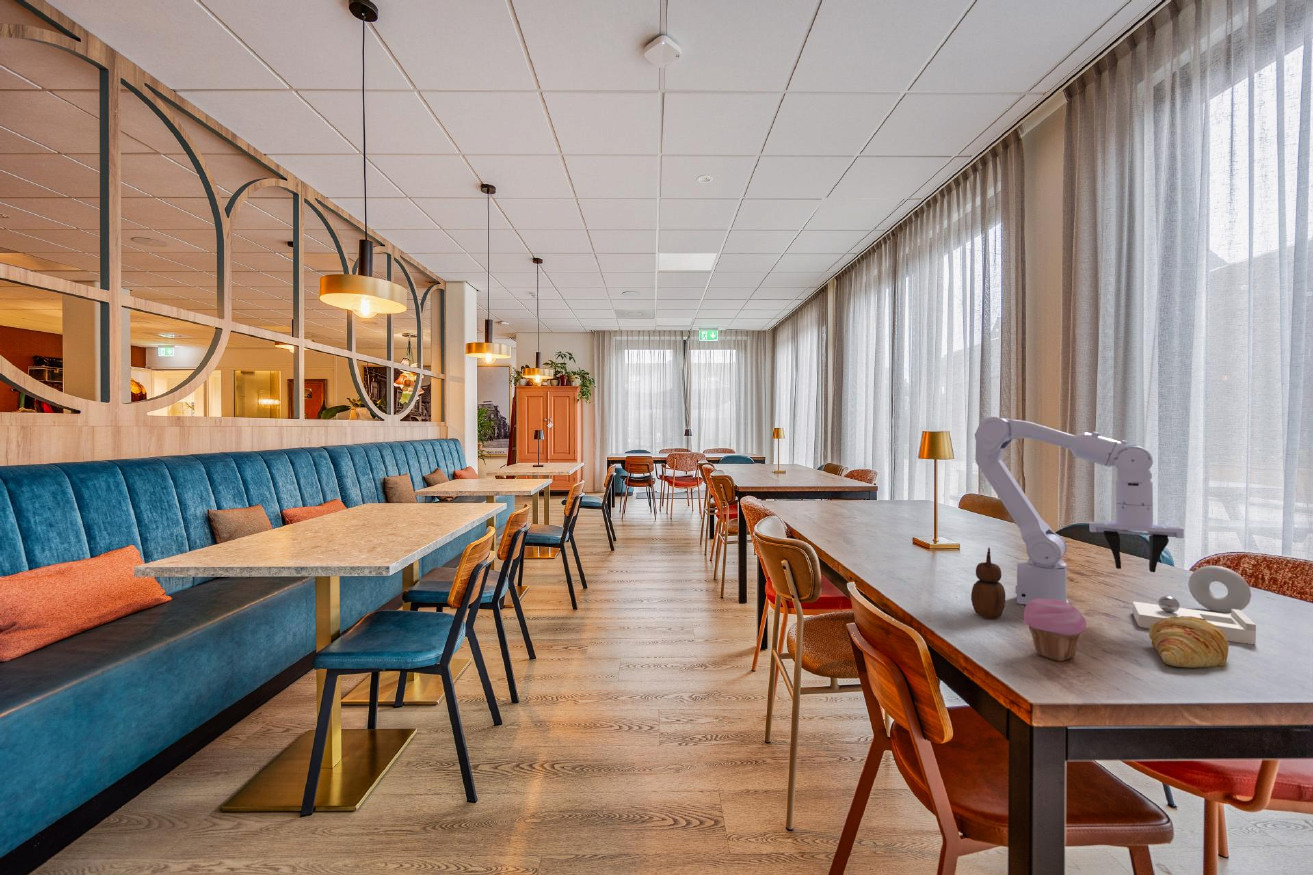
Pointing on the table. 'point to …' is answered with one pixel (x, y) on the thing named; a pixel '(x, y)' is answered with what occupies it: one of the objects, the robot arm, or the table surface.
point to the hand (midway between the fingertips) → (1135, 569)
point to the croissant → (1189, 642)
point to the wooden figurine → (988, 590)
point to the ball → (1168, 604)
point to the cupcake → (1054, 627)
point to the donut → (1232, 580)
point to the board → (1231, 625)
